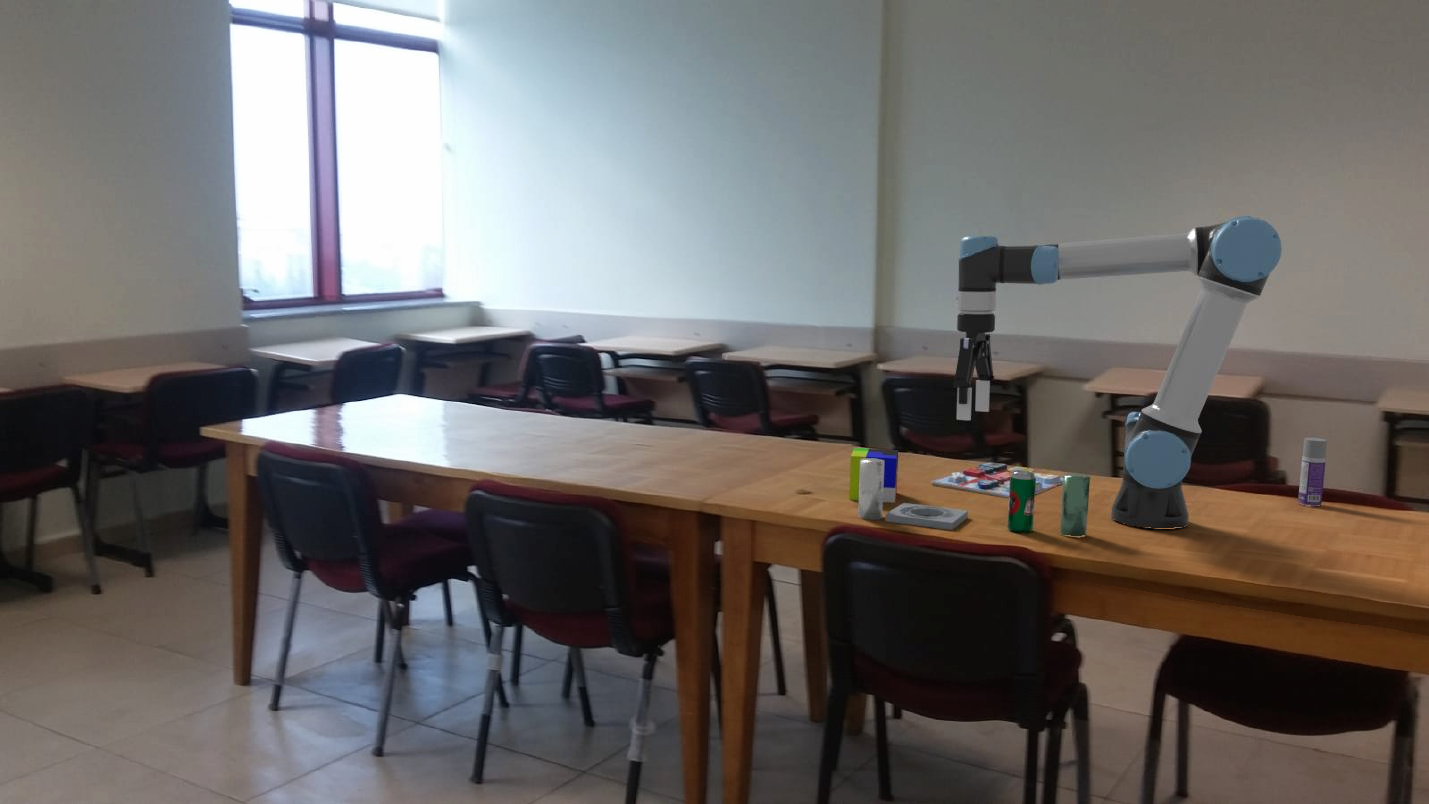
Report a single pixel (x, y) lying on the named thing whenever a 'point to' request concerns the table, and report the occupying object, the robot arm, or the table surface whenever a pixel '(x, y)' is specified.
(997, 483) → the puzzle board
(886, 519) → the socket board
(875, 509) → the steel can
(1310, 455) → the container
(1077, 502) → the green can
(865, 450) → the puzzle toy
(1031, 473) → the soda can
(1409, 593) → the table surface
